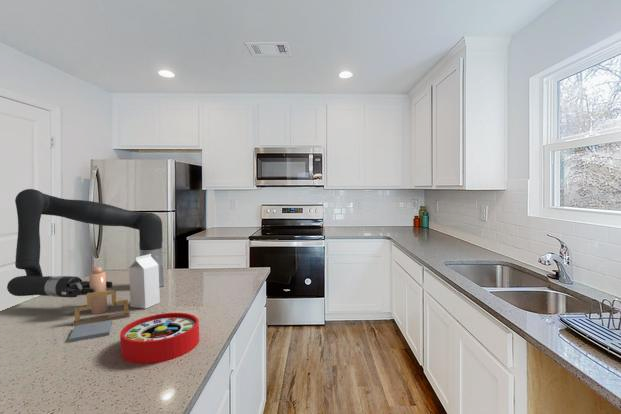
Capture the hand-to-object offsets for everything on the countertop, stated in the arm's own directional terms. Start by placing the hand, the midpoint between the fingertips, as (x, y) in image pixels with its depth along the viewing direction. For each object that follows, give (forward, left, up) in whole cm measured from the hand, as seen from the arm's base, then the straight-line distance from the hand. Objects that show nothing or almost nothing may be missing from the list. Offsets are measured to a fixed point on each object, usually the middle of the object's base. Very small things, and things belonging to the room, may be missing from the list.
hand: (102, 288), depth 120 cm
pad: (+2, +19, -9) cm, 21 cm away
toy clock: (-17, +39, -9) cm, 43 cm away
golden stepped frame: (0, +9, -9) cm, 12 cm away
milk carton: (-13, 0, -9) cm, 16 cm away
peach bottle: (+2, -1, -9) cm, 9 cm away
